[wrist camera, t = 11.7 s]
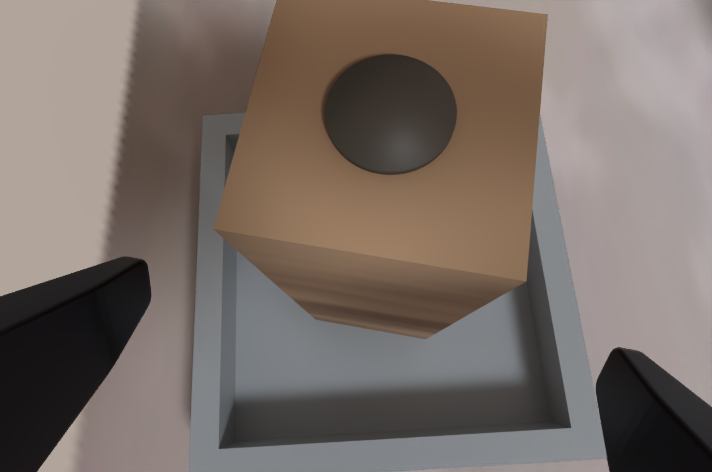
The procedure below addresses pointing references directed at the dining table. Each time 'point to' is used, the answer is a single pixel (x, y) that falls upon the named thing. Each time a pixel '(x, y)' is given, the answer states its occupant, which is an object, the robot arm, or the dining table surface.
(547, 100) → the dining table surface
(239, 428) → the grey tray
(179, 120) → the dining table surface
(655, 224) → the dining table surface
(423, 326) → the walnut block
